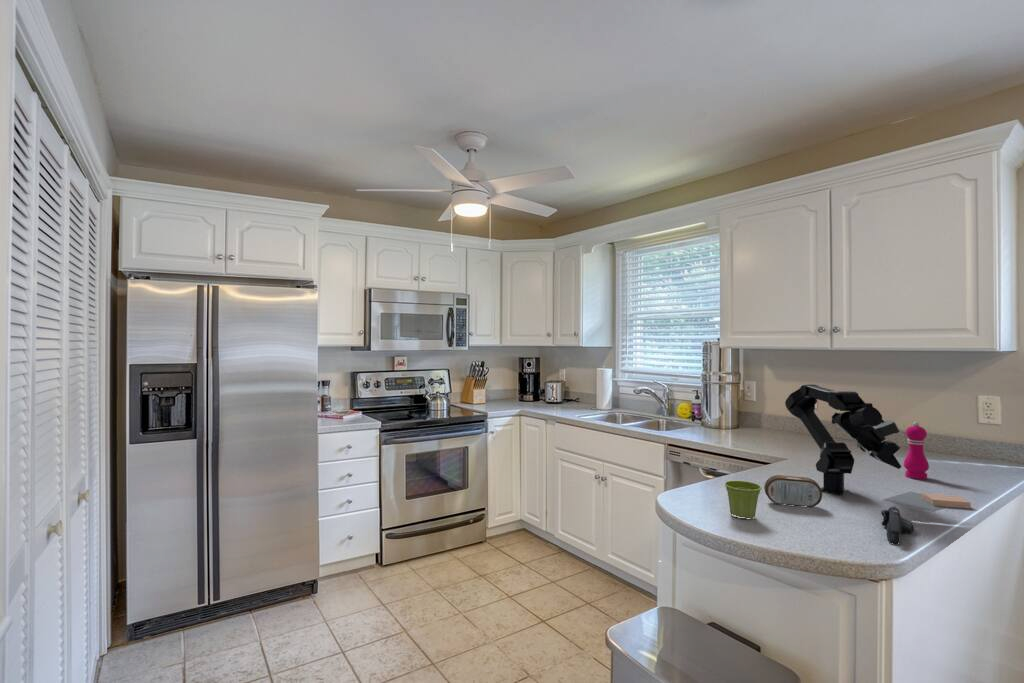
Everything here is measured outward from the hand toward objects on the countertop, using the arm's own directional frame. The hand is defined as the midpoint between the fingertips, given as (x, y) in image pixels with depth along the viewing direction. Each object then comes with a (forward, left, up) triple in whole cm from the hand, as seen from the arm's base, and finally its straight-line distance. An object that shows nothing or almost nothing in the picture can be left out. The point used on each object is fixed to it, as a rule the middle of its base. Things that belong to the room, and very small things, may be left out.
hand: (899, 467), depth 158 cm
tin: (-31, +15, -11) cm, 36 cm away
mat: (+5, -3, -10) cm, 12 cm away
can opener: (-32, -12, -11) cm, 36 cm away
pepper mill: (+40, +12, -11) cm, 43 cm away
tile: (+5, -5, -9) cm, 11 cm away
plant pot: (-53, +16, -11) cm, 56 cm away
